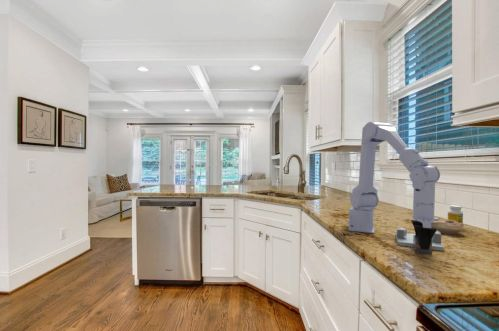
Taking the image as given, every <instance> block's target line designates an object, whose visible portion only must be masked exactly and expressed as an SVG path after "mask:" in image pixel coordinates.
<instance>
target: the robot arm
mask: <svg viewBox="0 0 499 331" xmlns="http://www.w3.org/2000/svg"><path fill="white" fill-rule="evenodd" d="M361 131H362V132H361V144H360V158H359V175H358V184H357V185H356V186H355V187H353V189H352V192H351V195H350V198H349V201H350V205H351V207H349V211H348V223H347V224H348V231H351V232H359V233H360V232H361V233H367V234H375V227H374V218H375V217H374V213H375V212H374V210H375V209H376V207H377V206H378V204H379V201H380V199H379V195H378V189H377V188H376V187H375V186H374V178H375V163H376V162H375V161H376V159H375V158H376V149H377V148H376V147H378V145H380V144H381V143H385V142H387V143H388V144H389V145H390V146H391V147H392V149H393V150H395V152H397V153H398V154H399V156H398V160H399V161H400V162H401V163H402V165H403V167H405V169H406V170H407V171H408V173H409V175H408V177H409V179H410V181H411V183H412V186H411V187H412V188H413V196H412V197H413V203H412V215H411V217H412V218H411V219H412V220H410V222H411V224H412V225H413V228H414V234H415V235H418V237H419V245H420V248H421V249H424V250H429V247H430V244H431V240H432V238H433V236H434V234H435V233H436V231H437V229H436V228H431V223H432V222H434V221H440V219H439V218H438V217H435V202H436V199H435V198H436V183H437V182H438V181H439V179H440V177H441V172H440V170H439V168H438V166H437V165H434V164H432V165H431V164H430V163H429V162H428V161H427V160H425V159H424V157H423V156H421V155H420V151H419V150H418V149H415V148H412V147H411V148H409V147H408V145H407V144H406V143H405V141H404V140H403V139H402V138H401V136H400V135H399V133H398V132H397V128H396V127H395V126H394V125H393V124H392V123H389V122H373V121H367V123H366V124H365V125H364V126H363V127H362V130H361Z"/></svg>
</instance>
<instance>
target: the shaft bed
mask: <svg viewBox="0 0 499 331" xmlns="http://www.w3.org/2000/svg"><path fill="white" fill-rule="evenodd" d="M414 235H415V233H408V230H407V228H405V227H399V226H396V231H395V238H396V242H397V245H398V246H403V247H410V248H413V236H414ZM432 251H441V252H444V251H445V246H444V245H443V244H442V232H441V231H436V233H435V234H434V236H433V238H432Z"/></svg>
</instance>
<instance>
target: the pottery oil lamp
mask: <svg viewBox="0 0 499 331" xmlns="http://www.w3.org/2000/svg"><path fill="white" fill-rule="evenodd" d="M464 226H465V225H464V223H463V224H462V223H459V222H456V221H453V220H448V219H447V220H439V221H434V222H432V223H431V228H436V229H437V231H439V232H440V233H441V234H446V235H456V234H458V233H461V232H462V231H464V230H465V229H466V228H465V227H464Z"/></svg>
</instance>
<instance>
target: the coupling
mask: <svg viewBox="0 0 499 331" xmlns="http://www.w3.org/2000/svg"><path fill="white" fill-rule="evenodd" d="M412 249H413V251H414V253H418V254H424V255H430V256H431V255H433V250H432V240H431V244H430V247H429V250H424V249H421V248H420V245H419V237H418V235H414V236H413V247H412Z"/></svg>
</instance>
